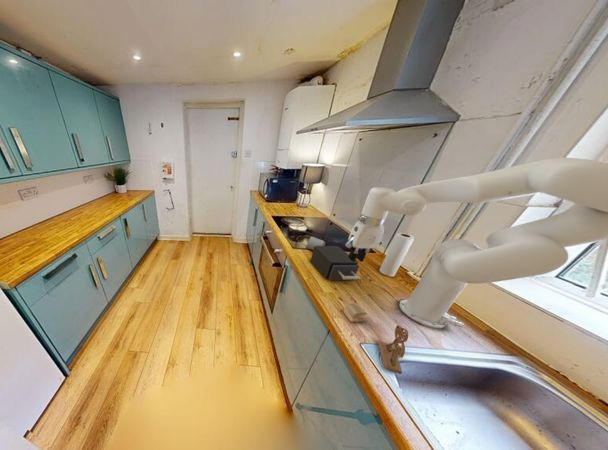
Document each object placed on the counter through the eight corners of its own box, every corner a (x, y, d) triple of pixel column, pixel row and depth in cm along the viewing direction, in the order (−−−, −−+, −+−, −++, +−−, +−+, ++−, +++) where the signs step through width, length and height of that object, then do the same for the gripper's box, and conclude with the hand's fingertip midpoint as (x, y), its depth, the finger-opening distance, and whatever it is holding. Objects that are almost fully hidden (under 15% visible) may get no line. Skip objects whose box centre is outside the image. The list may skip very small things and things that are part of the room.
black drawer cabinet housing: (351, 279, 93) (358, 262, 89) (325, 279, 93) (331, 262, 89) (332, 261, 107) (338, 245, 103) (310, 261, 106) (314, 245, 102)
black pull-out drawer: (361, 287, 87) (367, 273, 84) (336, 287, 86) (341, 273, 83) (335, 262, 104) (339, 250, 100) (314, 262, 103) (318, 250, 100)
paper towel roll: (386, 277, 95) (406, 238, 86) (375, 269, 101) (393, 232, 92) (400, 276, 96) (421, 238, 87) (388, 269, 101) (407, 232, 92)
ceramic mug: (320, 255, 112) (324, 243, 108) (305, 250, 116) (308, 238, 113) (324, 248, 119) (327, 236, 116) (309, 243, 124) (312, 232, 121)
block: (354, 311, 76) (357, 303, 74) (362, 321, 72) (366, 312, 70) (342, 311, 76) (346, 303, 74) (350, 321, 72) (354, 313, 70)
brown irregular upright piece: (401, 374, 56) (421, 347, 51) (384, 367, 57) (402, 340, 52) (392, 347, 63) (409, 321, 58) (377, 342, 65) (392, 316, 60)
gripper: (358, 223, 72) (342, 265, 79) (400, 224, 72) (381, 265, 80) (344, 216, 79) (331, 255, 86) (383, 216, 79) (366, 255, 87)
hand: (355, 259), depth 83 cm, fingers closed
